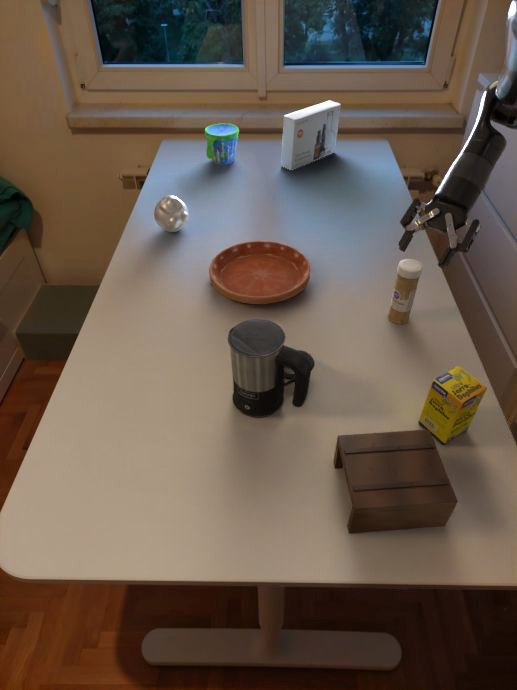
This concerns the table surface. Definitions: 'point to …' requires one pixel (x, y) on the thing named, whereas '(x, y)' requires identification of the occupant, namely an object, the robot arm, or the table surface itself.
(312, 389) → the table surface
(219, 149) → the snack cup
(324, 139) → the skincare box
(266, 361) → the milk frother
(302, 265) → the saucer
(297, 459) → the table surface
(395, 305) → the sprinkles bottle
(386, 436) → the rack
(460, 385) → the supplement box
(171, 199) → the shiny silver ball
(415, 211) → the robot arm
